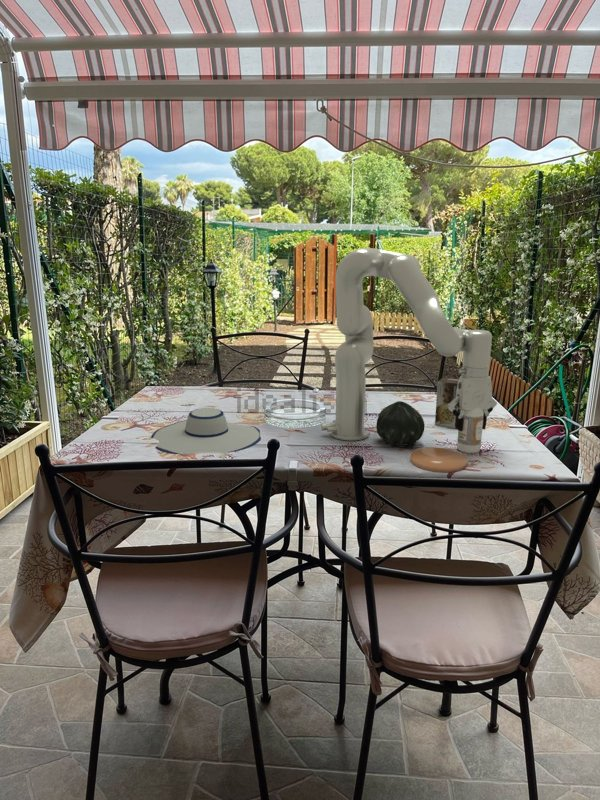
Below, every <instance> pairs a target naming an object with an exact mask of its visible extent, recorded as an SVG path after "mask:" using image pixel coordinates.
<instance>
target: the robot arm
mask: <svg viewBox="0 0 600 800" xmlns="http://www.w3.org/2000/svg"><path fill="white" fill-rule="evenodd" d="M365 277H377V278H381V279H387V280H391V282H392V283H393V284H394V286H395V287H396V289H397V291H398V292H399V293H400V295H401V296H402V297H403V299H404V300H405V302H406V303H407V305H408V306H409V307H410V310H411V311H412V313H413V315H414V317H415V319H416V321H417V322H418V324H419V326H420V329H421V330H422V331H423V333H424V335H425V336H426V338H427V339H428V340H429V342H430V343H431V345H432V346H433V347H434V349H435V350H436V351H437V352H438V353H439V354H440V355H441V356H443V357H451V358H452V357H455V356H456V355H458V354H459V353H460V352H463V355H462V356H463V357H462V366H461V368H459V369H458V373H459V374H461V375H460V376H459V378H458V380H459V381H458V385H457V390H456V397H455V399H454V400H452V401H451V402H450V403H449V404H448V405H447V407H448V408H449V409H450V410H451V412H452V413H453V414H454V416H455V417H456V418H455V428H454V429H455V430H457V431H458V430H459V431H463V421H464V419H463V418H462V417H463V415H464V413H465V411H472V410H474V409H476V408H480V409H481V410H483V411H484V417H483V427H482V430H486V426H487V421H488V417H489V416H490V413H492V411H493V410H494V408H495V407H496V406H497V405H498V402H497V401H496V400H495V399H494V398H493V386H492V385H493V383H492V377H491V376H490V375H489V371H490V360H491V351H492V342H493V341H492V340H493V339H492V338H493V335H492V333H491V331H488V330H484V329H465V328H460V327H453V326H452V324H451V323H450V322H449V320H448V319H447V317H446V315H445V313H444V311H443V309H442V306H441V303H440V298H439V296H438V294H437V292H436V290H435V289H434V288H433V286H432V284H430V281H428V279H427V278H426V275H424V273H423V272H422V270H421V264H420V262H419V260H418V259H417V258H416V257H415V256H414V255H411V254H407V253H400V252H395V251H388V250H383V249H381V248H380V249H379V248H373V247H360V248H356V249H354V250H352V251H351V252H349V253H347V254H346V255H345V256H344V257H343V258H342V259H341V261H339V264H338V266H337V268H336V271H335V304H336V327H337V330H338V331H339V332H340V334H342V335H343V336H345V337H344V338H345V341H343V342H342V343H341V344H340V345H338V348H337V349H336V351H335V355H334V365H335V420H332V422H331V423H329V424H321V425H320V428H321V431H327V433H329V432H330V436H331V437H332V438H335V439H336V440H341V441H349V442H351V441H361V440H365V439H367V438H368V437H369V433H370V432H369V431H368V429H366V428H365V416H366V415H365V412H366V410H365V409H366V384H367V383H366V377H367V376H366V364H368V362H369V361H370V360H371V359H372V357H373V354H374V323H373V315H372V312H371V310H370V309H369V308H368V307H367V306H366V305H364V304H365V303H364V287H363V281H364V278H365ZM455 406H456V407H458V408H457V410H456V409H455V408H454V407H455Z"/></svg>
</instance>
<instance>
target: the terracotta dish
mask: <svg viewBox="0 0 600 800" xmlns="http://www.w3.org/2000/svg"><path fill="white" fill-rule="evenodd" d="M409 458H410V460H409V461H410V463H411V464H412V465H413V466H415V467H417V468H419V469H422V470H425V471H429V472H436V473H455V472H460V471H462V470H464V469H466V468H467V466H468V458H467V456H466V455H465V454H463V453H462V452H461V451H457V450H454V449H450V448H444V447H433V446H430V447H420V448H416V449H415V450H413V451H411V452H410V457H409Z"/></svg>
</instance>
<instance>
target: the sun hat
mask: <svg viewBox="0 0 600 800" xmlns="http://www.w3.org/2000/svg"><path fill="white" fill-rule="evenodd" d="M150 438H152V439H153V440H154V439H155V440H157V441H158V443H157V444H156V445H155V449H156V450H158V451H160V452H161V451H162V452H163V453H164V452H165V453H167V454H170V455H187V454H203V453H204V454H208V453H211V454H212V453H215V454H221V453H222V454H223V453H225V454H226V453H234V452H239V451H243V450H246V449H249V448H251V447H253V446H255V445H256V444H258V443H259V442H260V441H261V440H262V437H261V430H260V429H259V428H258V427H256V426H253V425H243V424H235V423H231V422H228V421H227V418H226V416H225V413H224V412H223V411H222V410H221V409H218V408H212V407H203V408H196V409H193V410H191V411H190V412H189V413H188V416H187V419H185V420H180V421H177V422H174V423H171V424H169V425H166V426H163V427H160V428H158V429H157V430H155V431H154V432H152V434H151V436H150Z"/></svg>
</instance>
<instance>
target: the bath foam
mask: <svg viewBox="0 0 600 800" xmlns="http://www.w3.org/2000/svg"><path fill="white" fill-rule="evenodd" d="M483 417H484V411H483V410H481V409H480V408H476V409H474V410H472V411H465V413H464V415H463V417H462V418H463V419H464V421H463V431H459V430H457V440H456V442H457V443H456V444H457V445H456V448H457V450H459V452H461V453H462V452H463V453H467V454H474V453H478V452H480V451H481V444H482V439H483V438H482V435H483V429H482V427H483Z"/></svg>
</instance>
